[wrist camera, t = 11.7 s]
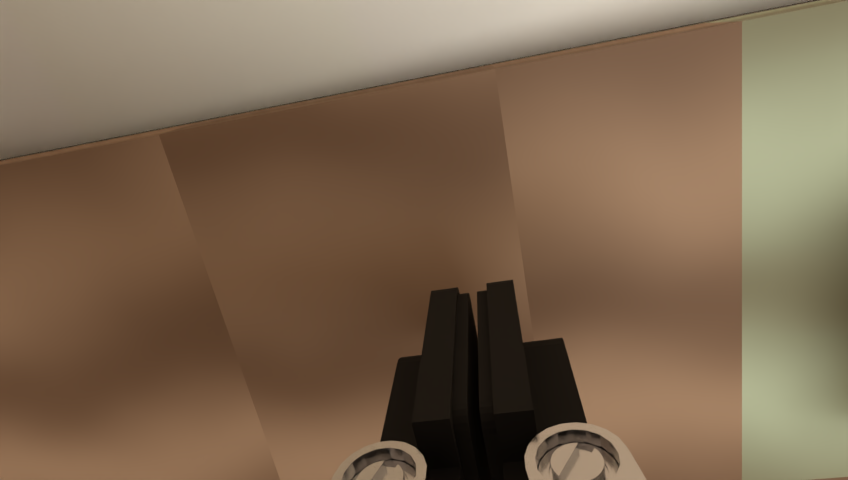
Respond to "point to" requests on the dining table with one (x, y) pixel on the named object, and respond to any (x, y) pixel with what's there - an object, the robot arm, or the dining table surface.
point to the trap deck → (449, 261)
